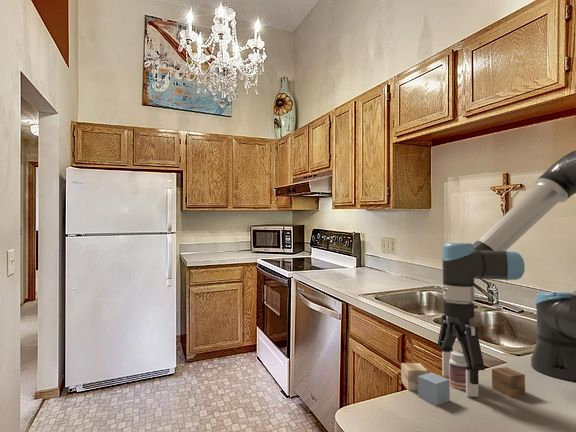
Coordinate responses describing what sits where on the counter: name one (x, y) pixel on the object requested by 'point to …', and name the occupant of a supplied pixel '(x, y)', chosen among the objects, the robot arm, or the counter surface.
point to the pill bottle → (457, 370)
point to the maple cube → (411, 374)
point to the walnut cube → (508, 381)
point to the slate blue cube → (433, 388)
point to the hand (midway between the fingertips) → (459, 385)
